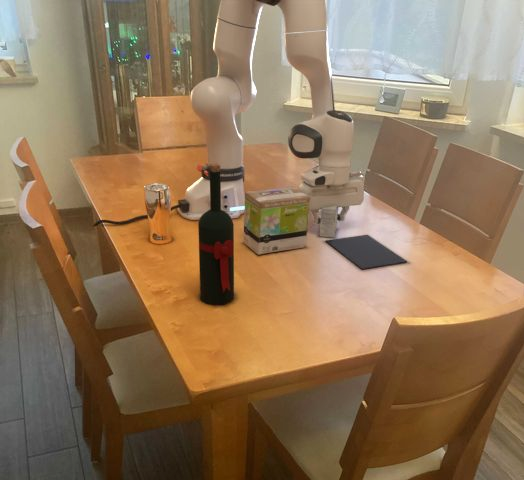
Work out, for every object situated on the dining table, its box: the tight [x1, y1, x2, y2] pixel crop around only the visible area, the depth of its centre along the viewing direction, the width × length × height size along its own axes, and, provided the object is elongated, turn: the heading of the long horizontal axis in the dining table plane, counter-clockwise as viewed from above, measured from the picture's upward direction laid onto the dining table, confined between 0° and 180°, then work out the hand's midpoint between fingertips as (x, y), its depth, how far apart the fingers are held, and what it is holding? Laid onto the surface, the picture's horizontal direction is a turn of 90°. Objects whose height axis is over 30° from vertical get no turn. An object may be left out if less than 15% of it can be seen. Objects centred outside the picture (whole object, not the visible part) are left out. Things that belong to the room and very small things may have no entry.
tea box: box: [242, 186, 310, 256], centre depth 148 cm, size 15×10×15 cm
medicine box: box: [319, 206, 339, 239], centre depth 160 cm, size 8×4×9 cm, turn 169°
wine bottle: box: [197, 164, 235, 306], centre depth 117 cm, size 8×10×30 cm
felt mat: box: [325, 234, 408, 271], centre depth 151 cm, size 14×20×1 cm
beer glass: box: [143, 182, 173, 245], centre depth 149 cm, size 7×7×15 cm
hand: (328, 221), depth 160 cm, fingers closed on medicine box, 6 cm apart
